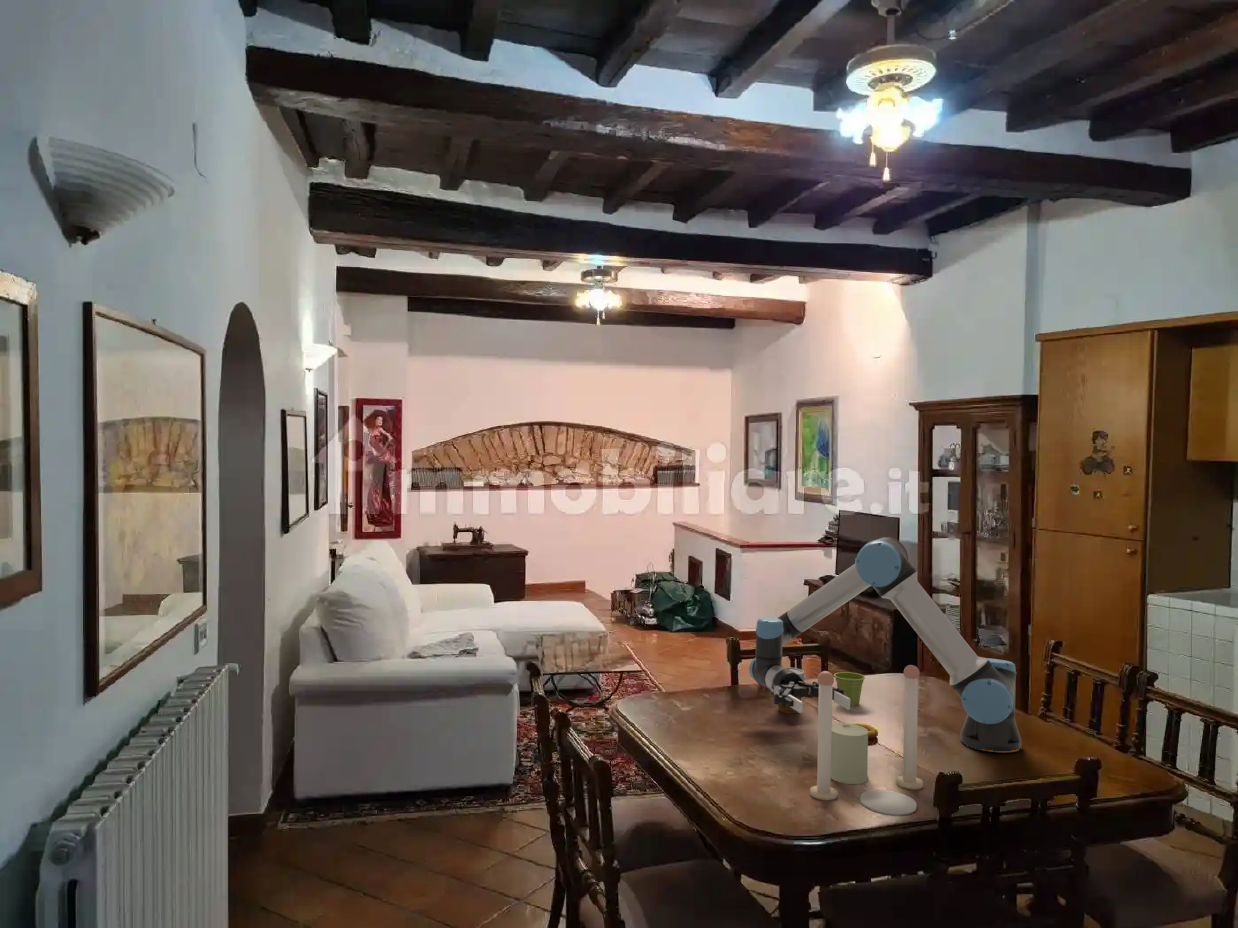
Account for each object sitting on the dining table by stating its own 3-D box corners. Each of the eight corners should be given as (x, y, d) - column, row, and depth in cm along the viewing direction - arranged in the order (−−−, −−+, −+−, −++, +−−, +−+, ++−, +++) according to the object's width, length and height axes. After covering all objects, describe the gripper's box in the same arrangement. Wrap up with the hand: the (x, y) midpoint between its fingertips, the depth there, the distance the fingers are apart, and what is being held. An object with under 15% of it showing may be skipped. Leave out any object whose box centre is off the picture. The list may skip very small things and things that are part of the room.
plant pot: (827, 700, 269) (828, 672, 268) (853, 697, 271) (854, 670, 271) (844, 708, 260) (844, 680, 260) (870, 706, 263) (871, 678, 262)
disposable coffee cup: (805, 716, 252) (806, 675, 252) (772, 713, 254) (773, 673, 253) (804, 706, 261) (805, 667, 261) (773, 704, 263) (774, 665, 263)
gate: (912, 778, 204) (914, 661, 204) (928, 787, 199) (930, 667, 198) (805, 791, 196) (807, 668, 195) (818, 801, 190) (821, 675, 189)
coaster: (915, 796, 193) (915, 794, 193) (917, 818, 182) (917, 815, 182) (860, 789, 197) (861, 787, 197) (859, 810, 186) (859, 807, 185)
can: (860, 769, 210) (861, 721, 209) (873, 784, 200) (874, 733, 200) (823, 769, 209) (824, 721, 209) (834, 784, 200) (835, 733, 200)
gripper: (823, 693, 238) (867, 717, 218) (743, 698, 231) (780, 723, 210) (824, 666, 238) (868, 687, 218) (743, 671, 230) (781, 693, 210)
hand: (825, 705), depth 214 cm, fingers open, 13 cm apart
